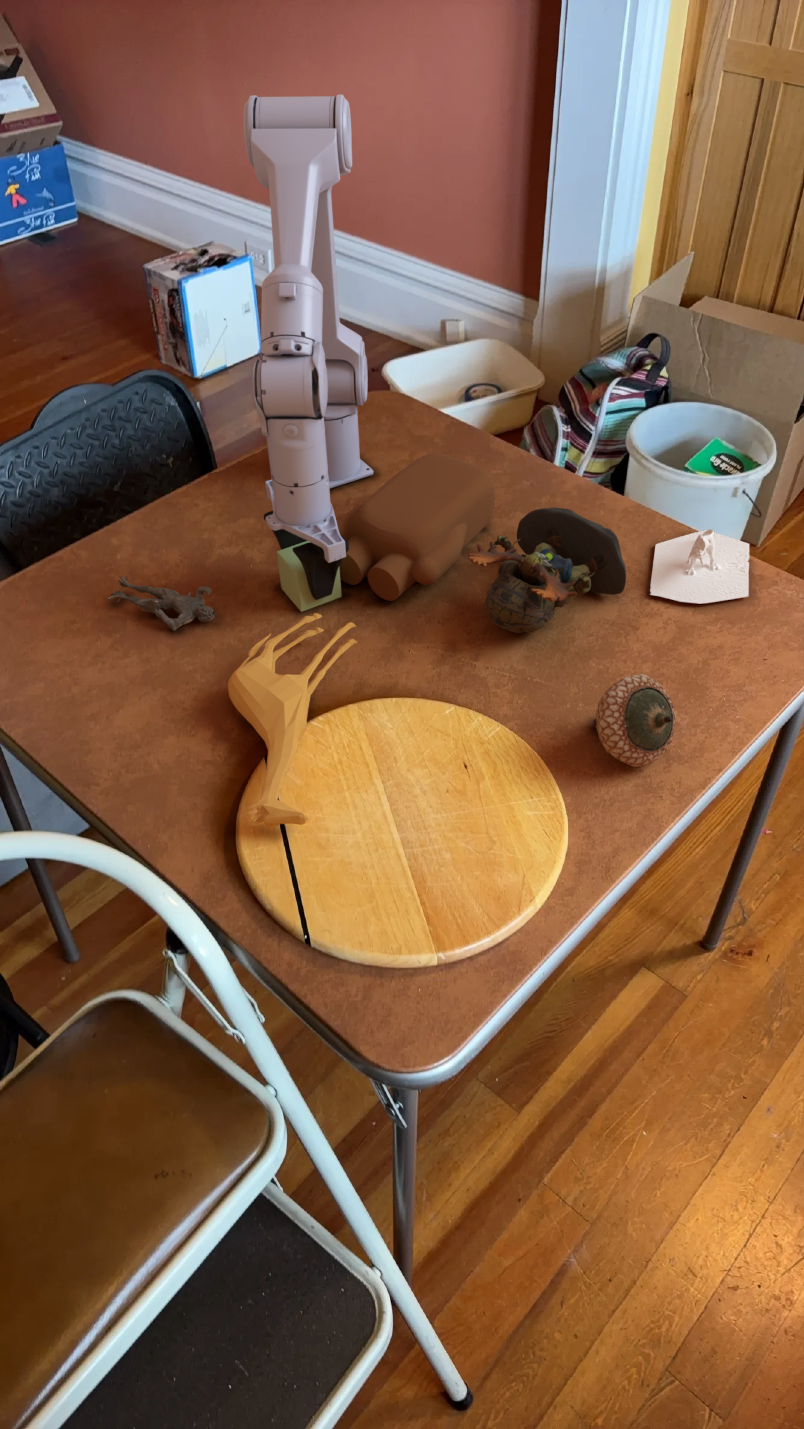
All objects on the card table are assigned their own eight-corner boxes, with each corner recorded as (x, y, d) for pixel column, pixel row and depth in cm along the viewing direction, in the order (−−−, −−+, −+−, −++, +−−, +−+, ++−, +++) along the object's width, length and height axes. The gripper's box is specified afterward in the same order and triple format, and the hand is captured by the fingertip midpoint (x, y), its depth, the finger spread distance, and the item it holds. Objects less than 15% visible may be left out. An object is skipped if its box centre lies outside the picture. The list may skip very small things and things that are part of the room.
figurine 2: (652, 534, 105) (568, 593, 92) (626, 610, 110) (544, 674, 98) (541, 485, 110) (448, 533, 98) (522, 559, 116) (433, 613, 104)
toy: (420, 623, 107) (517, 528, 117) (418, 566, 101) (519, 472, 112) (315, 577, 113) (416, 491, 124) (307, 521, 107) (413, 436, 118)
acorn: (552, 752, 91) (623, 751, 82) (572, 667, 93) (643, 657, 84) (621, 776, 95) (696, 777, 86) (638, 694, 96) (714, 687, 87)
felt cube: (281, 588, 110) (276, 551, 106) (321, 574, 112) (317, 536, 108) (301, 612, 107) (296, 574, 103) (341, 597, 109) (339, 559, 105)
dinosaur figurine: (673, 542, 119) (678, 491, 116) (775, 562, 113) (784, 509, 110) (622, 593, 109) (626, 538, 106) (731, 617, 103) (740, 560, 100)
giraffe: (426, 640, 96) (288, 823, 81) (426, 673, 99) (294, 855, 84) (283, 594, 102) (129, 757, 86) (288, 627, 105) (140, 790, 89)
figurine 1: (123, 558, 108) (216, 575, 104) (139, 580, 111) (229, 597, 107) (96, 602, 106) (190, 621, 101) (113, 624, 109) (204, 643, 105)
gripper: (233, 451, 102) (249, 560, 111) (295, 518, 93) (307, 630, 102) (294, 433, 104) (305, 541, 114) (361, 496, 95) (367, 607, 105)
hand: (310, 582), depth 108 cm, fingers closed on felt cube, 5 cm apart
